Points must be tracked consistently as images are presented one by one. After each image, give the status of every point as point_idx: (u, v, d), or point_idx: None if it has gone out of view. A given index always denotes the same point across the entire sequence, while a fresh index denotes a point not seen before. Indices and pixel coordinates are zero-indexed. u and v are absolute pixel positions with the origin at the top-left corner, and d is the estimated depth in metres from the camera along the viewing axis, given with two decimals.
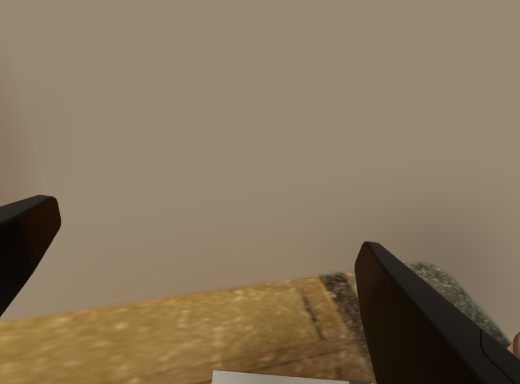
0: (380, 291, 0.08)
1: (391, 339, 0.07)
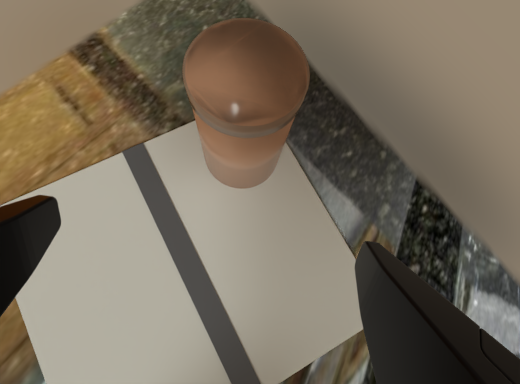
0: (380, 291, 0.08)
1: (391, 339, 0.07)
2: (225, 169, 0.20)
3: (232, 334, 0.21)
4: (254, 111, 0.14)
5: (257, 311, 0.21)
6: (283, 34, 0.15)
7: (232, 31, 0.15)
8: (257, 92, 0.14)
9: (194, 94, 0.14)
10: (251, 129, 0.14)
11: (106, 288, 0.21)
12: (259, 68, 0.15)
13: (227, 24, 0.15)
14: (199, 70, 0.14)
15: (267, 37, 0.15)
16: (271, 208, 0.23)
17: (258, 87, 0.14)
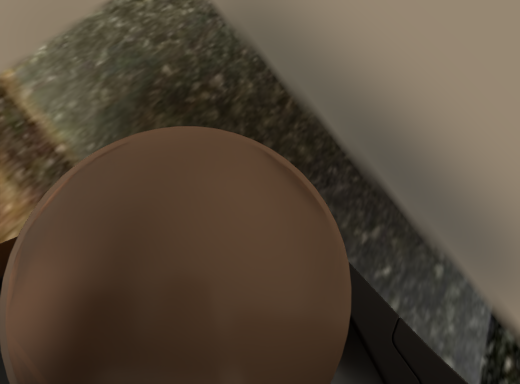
0: None
1: None
2: None
3: None
4: None
5: None
6: (281, 169, 0.06)
7: (151, 165, 0.06)
8: (209, 354, 0.05)
9: (23, 375, 0.05)
10: None
11: None
12: (217, 274, 0.05)
13: (139, 145, 0.06)
14: (49, 291, 0.05)
15: (241, 178, 0.06)
16: None
17: (211, 338, 0.05)
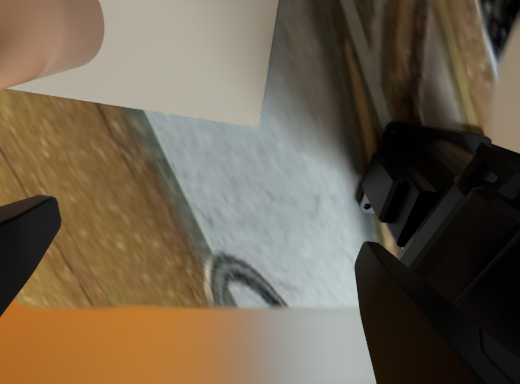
0: (380, 291, 0.08)
1: (391, 339, 0.07)
2: (63, 56, 0.15)
3: None
4: None
5: None
6: None
7: None
8: None
9: None
10: None
11: None
12: None
13: None
14: None
15: None
16: None
17: None
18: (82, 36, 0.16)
